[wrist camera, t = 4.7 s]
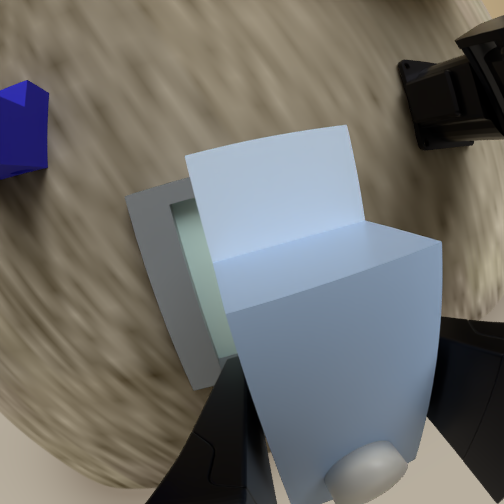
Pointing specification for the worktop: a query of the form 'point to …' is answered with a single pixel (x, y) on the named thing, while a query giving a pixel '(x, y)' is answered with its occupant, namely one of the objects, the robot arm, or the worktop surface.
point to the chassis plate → (183, 278)
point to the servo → (322, 311)
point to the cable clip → (23, 129)
